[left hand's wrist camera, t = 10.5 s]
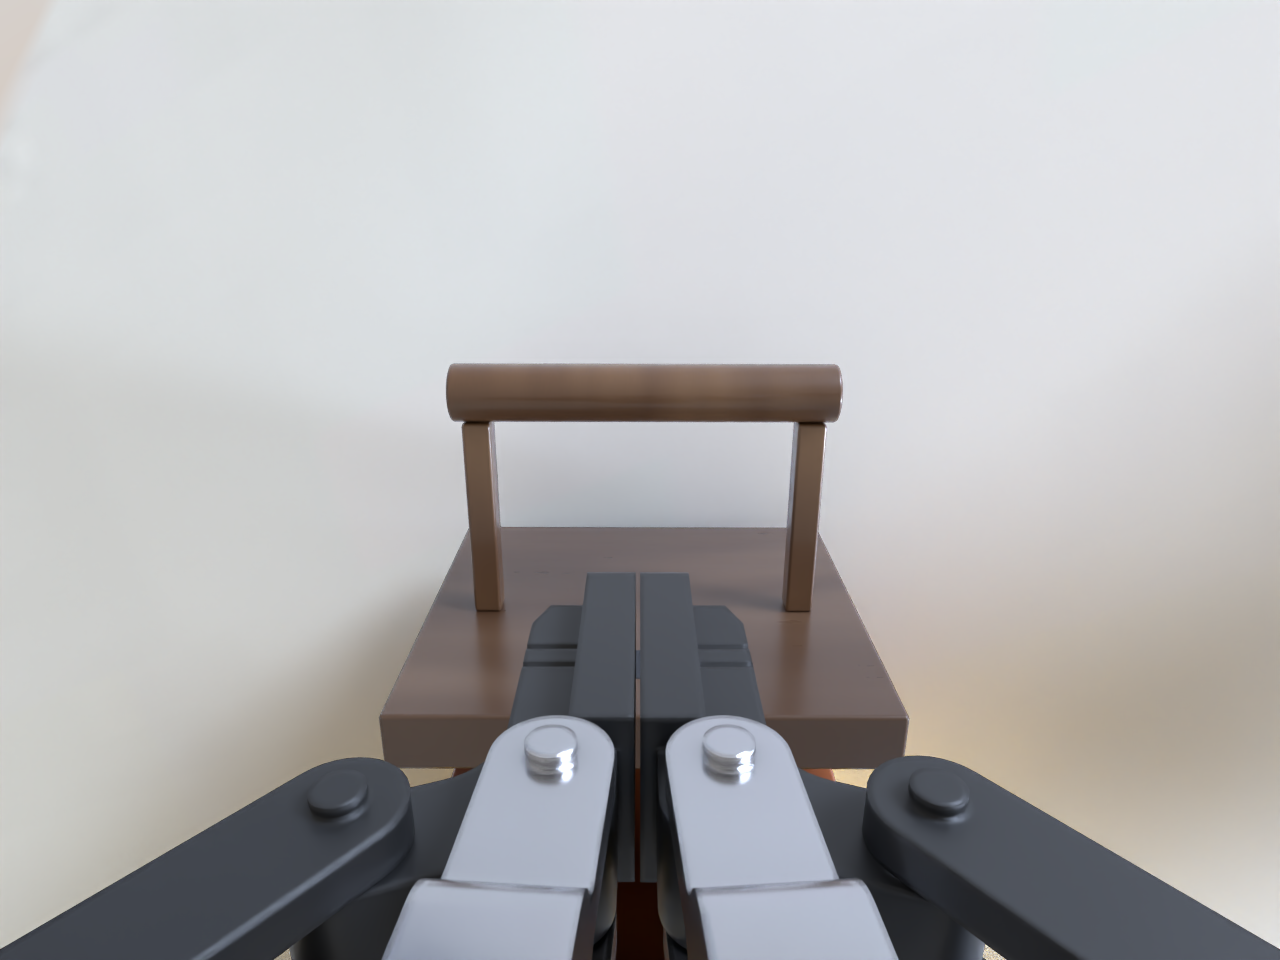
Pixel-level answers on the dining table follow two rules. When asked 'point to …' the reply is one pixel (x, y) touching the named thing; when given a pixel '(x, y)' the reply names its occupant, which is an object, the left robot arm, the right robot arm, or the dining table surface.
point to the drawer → (714, 558)
